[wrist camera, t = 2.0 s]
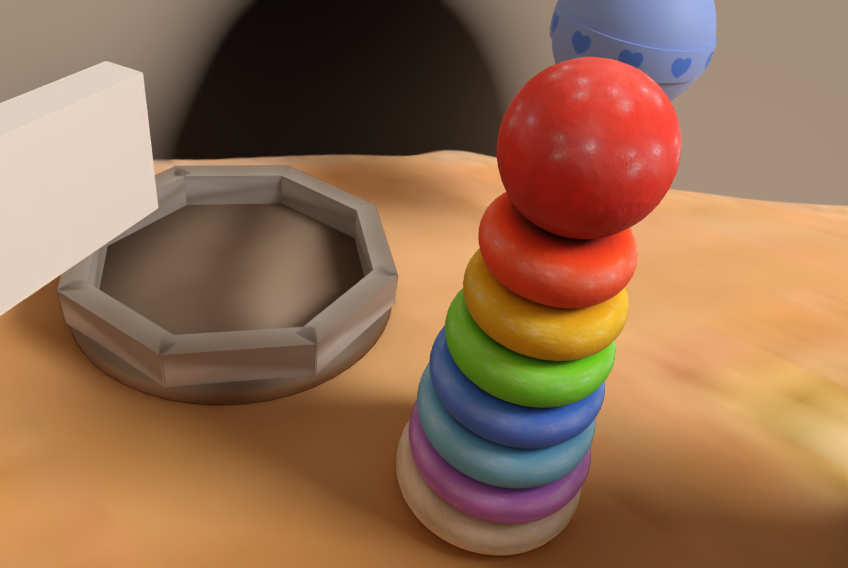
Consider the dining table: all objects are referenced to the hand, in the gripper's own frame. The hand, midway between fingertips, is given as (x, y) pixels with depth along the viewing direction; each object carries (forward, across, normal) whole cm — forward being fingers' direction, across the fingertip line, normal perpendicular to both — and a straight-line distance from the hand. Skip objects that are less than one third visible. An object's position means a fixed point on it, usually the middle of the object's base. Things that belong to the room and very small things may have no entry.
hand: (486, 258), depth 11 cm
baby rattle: (+30, 0, -18) cm, 35 cm away
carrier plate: (+16, -16, -18) cm, 29 cm away
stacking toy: (+10, 0, -18) cm, 21 cm away
